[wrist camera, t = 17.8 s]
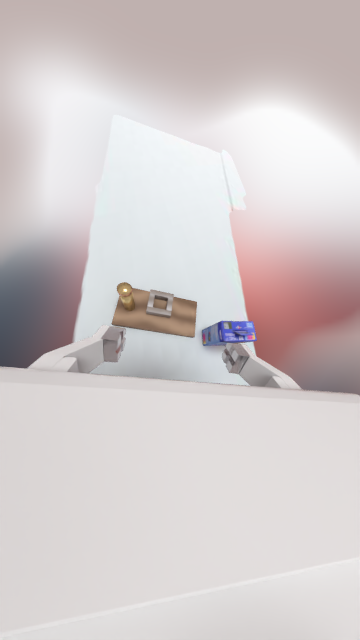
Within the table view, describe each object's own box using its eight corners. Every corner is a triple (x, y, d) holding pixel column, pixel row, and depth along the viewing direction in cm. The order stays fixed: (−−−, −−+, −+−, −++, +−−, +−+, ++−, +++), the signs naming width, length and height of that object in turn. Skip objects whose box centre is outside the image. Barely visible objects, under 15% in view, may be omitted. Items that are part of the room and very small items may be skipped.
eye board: (192, 337, 42) (197, 335, 38) (112, 325, 37) (109, 321, 34) (195, 303, 46) (199, 298, 42) (123, 288, 41) (120, 281, 37)
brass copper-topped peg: (134, 311, 38) (130, 295, 29) (123, 310, 38) (115, 293, 29) (136, 302, 39) (133, 283, 30) (125, 300, 39) (118, 281, 29)
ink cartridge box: (202, 346, 42) (229, 340, 29) (201, 330, 44) (225, 316, 30) (229, 345, 44) (266, 339, 31) (227, 329, 46) (260, 317, 33)
